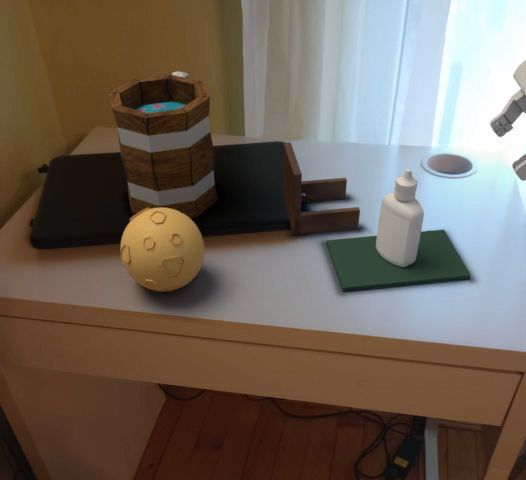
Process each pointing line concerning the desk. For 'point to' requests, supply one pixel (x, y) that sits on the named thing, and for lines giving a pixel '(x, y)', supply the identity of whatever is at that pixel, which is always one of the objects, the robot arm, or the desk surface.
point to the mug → (166, 143)
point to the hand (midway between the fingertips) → (504, 151)
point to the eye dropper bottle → (400, 223)
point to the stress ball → (162, 249)
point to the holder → (314, 192)
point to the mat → (387, 274)
